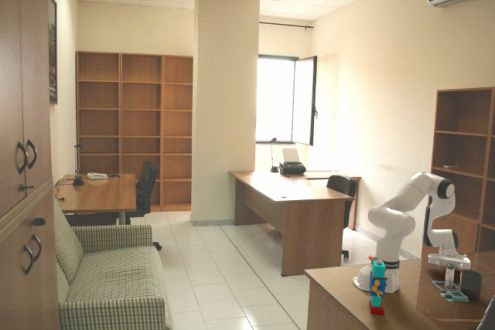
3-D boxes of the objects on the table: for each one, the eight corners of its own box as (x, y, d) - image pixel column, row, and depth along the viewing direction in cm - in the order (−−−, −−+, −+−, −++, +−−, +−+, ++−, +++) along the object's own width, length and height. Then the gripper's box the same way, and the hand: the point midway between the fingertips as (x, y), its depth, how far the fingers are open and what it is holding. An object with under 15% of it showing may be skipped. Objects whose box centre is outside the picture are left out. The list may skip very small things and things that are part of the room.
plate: (448, 303, 190) (448, 297, 190) (439, 295, 198) (440, 290, 198) (469, 303, 191) (470, 298, 190) (459, 295, 199) (460, 290, 198)
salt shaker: (446, 290, 203) (448, 266, 201) (441, 286, 207) (444, 263, 206) (455, 290, 203) (457, 266, 202) (450, 286, 207) (452, 263, 206)
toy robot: (384, 317, 174) (389, 259, 171) (369, 315, 175) (374, 258, 172) (381, 304, 185) (386, 250, 182) (367, 302, 186) (371, 249, 183)
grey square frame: (441, 293, 200) (441, 289, 200) (431, 284, 210) (431, 280, 210) (461, 293, 201) (462, 289, 200) (450, 285, 211) (450, 281, 210)
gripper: (428, 249, 230) (428, 256, 217) (469, 255, 222) (472, 263, 209) (427, 259, 231) (427, 268, 218) (468, 266, 223) (471, 275, 210)
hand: (449, 266), depth 213 cm, fingers open, 8 cm apart
